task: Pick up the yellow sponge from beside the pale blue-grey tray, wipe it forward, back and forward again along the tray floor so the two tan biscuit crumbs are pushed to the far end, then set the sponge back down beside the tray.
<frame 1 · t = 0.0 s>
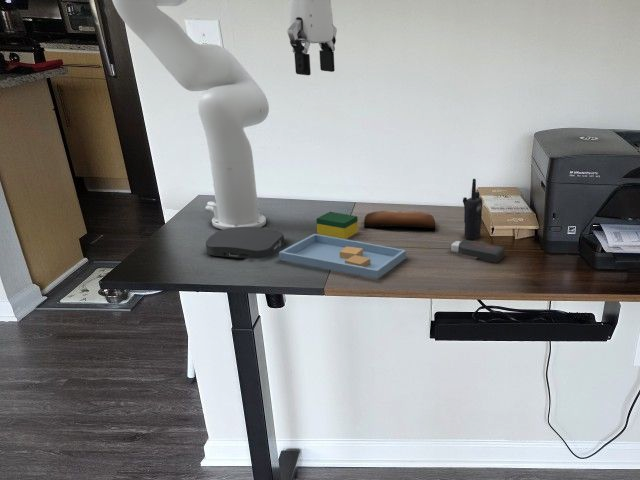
hand: (315, 72, 144), 37 cm above the table, tool pointing down, fingers open, 9 cm apart
crumb b: (357, 265, 147), point 1 cm above the table, touching tray
usb drive: (476, 256, 160), on the table
sponge: (338, 235, 165), on the table
media streaming box: (247, 249, 153), on the table
tray: (344, 261, 150), on the table
crumb a: (351, 255, 152), point 1 cm above the table, touching tray
sunglasses case: (399, 227, 175), on the table
two-way radio: (470, 237, 171), on the table
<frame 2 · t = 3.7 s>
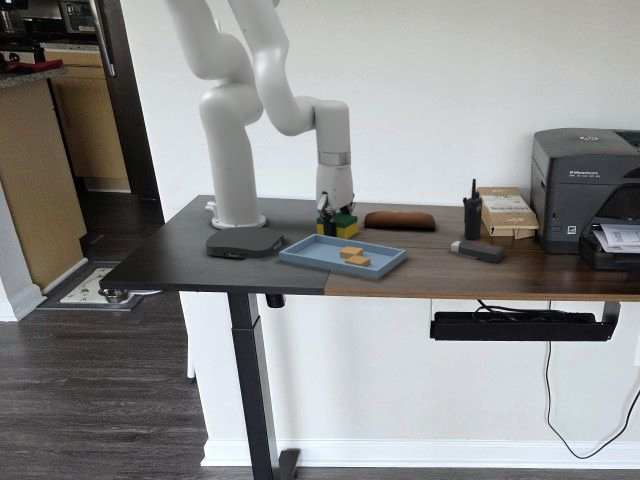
hand: (338, 232, 165), 1 cm above the table, tool pointing down, fingers closed on sponge, 6 cm apart
sponge: (338, 235, 165), on the table, touching gripper
everything else where it was.
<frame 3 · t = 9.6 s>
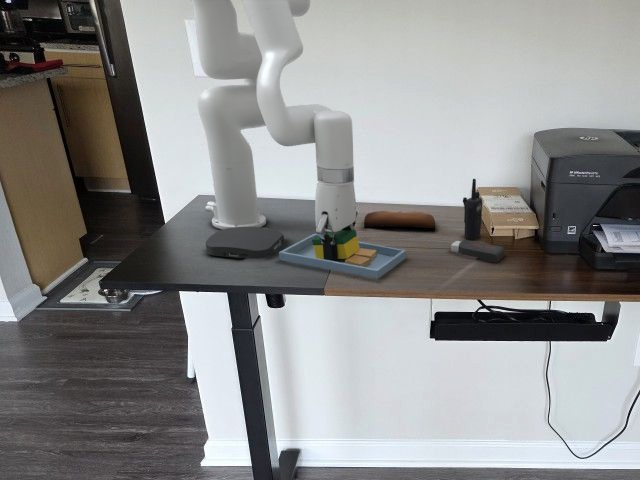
hand: (339, 255, 150), 1 cm above the table, tool pointing down, fingers closed on sponge, 6 cm apart
sponge: (338, 254, 150), point 1 cm above the table, tilted 11°, touching crumb a, gripper
crumb a: (365, 257, 151), point 1 cm above the table, touching sponge, tray
everything else where it was.
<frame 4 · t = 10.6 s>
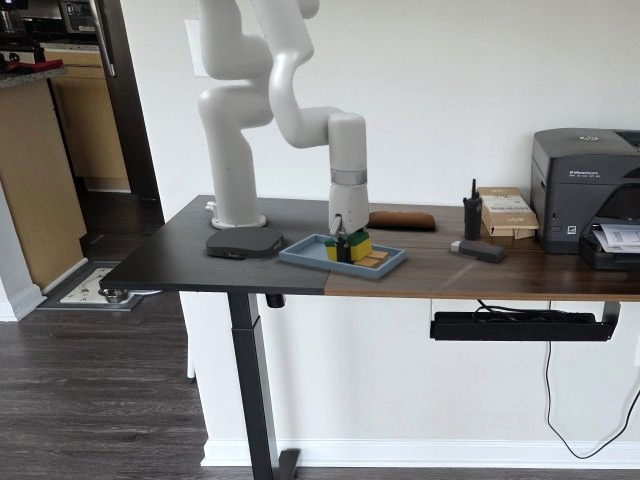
hand: (352, 257, 149), 1 cm above the table, tool pointing down, fingers closed on sponge, 6 cm apart
crumb b: (367, 267, 146), point 1 cm above the table, touching tray
sponge: (350, 256, 149), point 1 cm above the table, tilted 11°, touching gripper
crumb a: (377, 260, 151), point 1 cm above the table, touching tray
everything else where it was.
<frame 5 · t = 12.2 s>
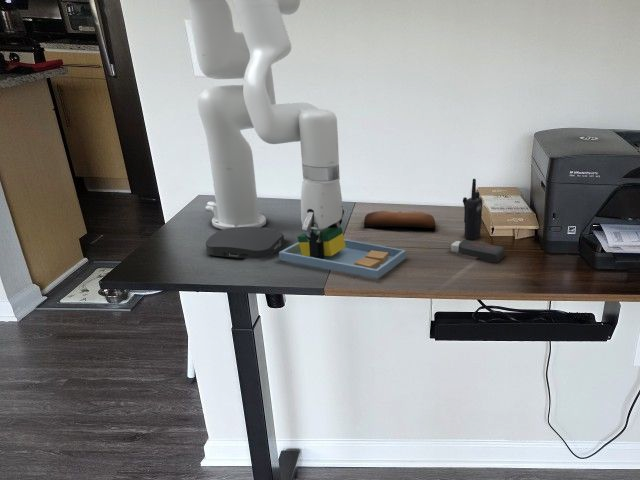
hand: (325, 252, 151), 1 cm above the table, tool pointing down, fingers closed on sponge, 6 cm apart
sponge: (324, 251, 151), point 1 cm above the table, tilted 11°, touching gripper
everything else where it was.
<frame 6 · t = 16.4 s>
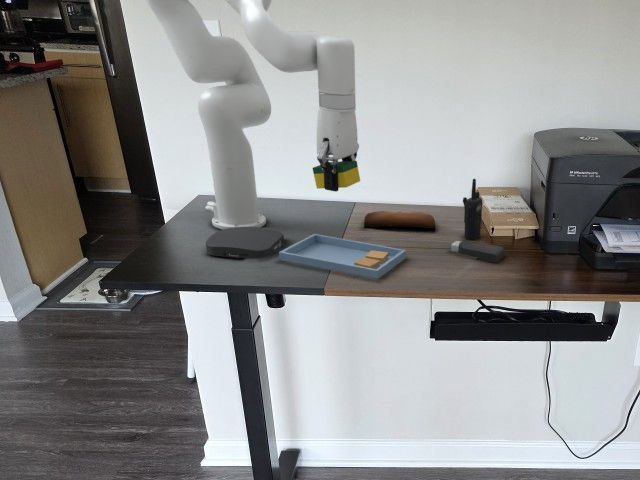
hand: (340, 186, 151), 14 cm above the table, tool pointing down, fingers closed on sponge, 6 cm apart
sponge: (338, 184, 151), point 15 cm above the table, tilted 10°, touching gripper
everything else where it was.
when the fingers open (0 cm above the table, at t = 20.5 s): sponge stays where it is, on the table.
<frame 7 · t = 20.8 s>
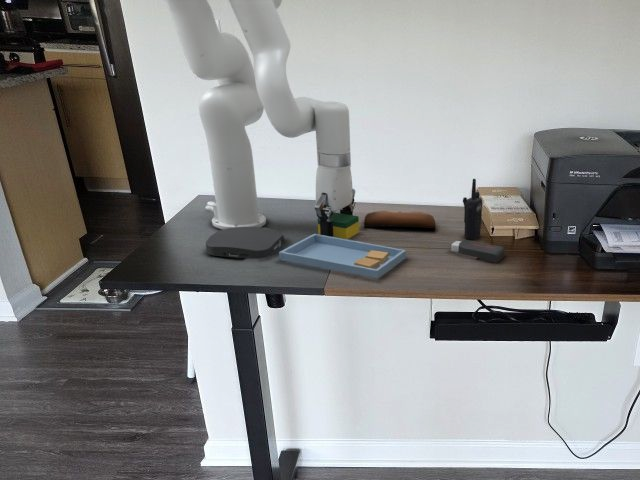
hand: (337, 231, 165), 1 cm above the table, tool pointing down, fingers open, 9 cm apart
sponge: (339, 235, 165), on the table
everything else where it was.
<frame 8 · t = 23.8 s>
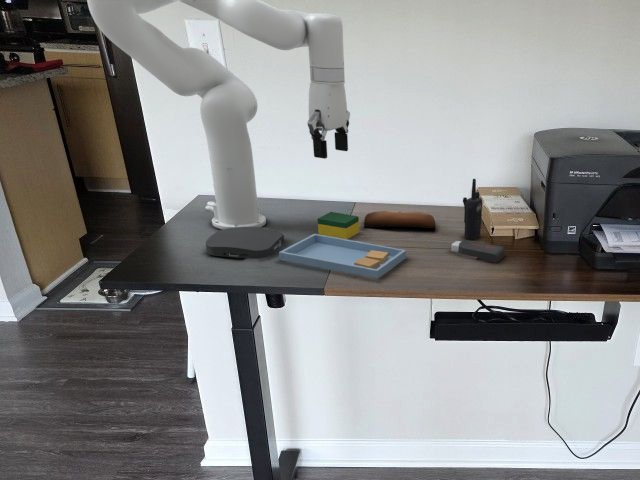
hand: (331, 153, 160), 18 cm above the table, tool pointing down, fingers open, 9 cm apart
nothing on the table moved.
at the end: crumb a inside the target area in the tray (3.4 cm from its centre), point 0.6 cm above the tray's base; crumb b inside the target area in the tray (3.1 cm from its centre), point 0.6 cm above the tray's base; sponge inside the target area (0.3 cm from its centre), on the table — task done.
